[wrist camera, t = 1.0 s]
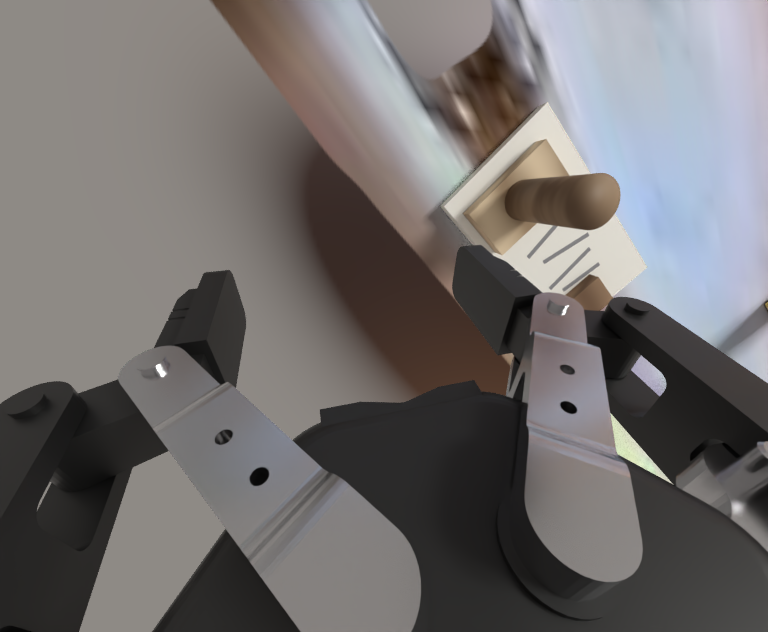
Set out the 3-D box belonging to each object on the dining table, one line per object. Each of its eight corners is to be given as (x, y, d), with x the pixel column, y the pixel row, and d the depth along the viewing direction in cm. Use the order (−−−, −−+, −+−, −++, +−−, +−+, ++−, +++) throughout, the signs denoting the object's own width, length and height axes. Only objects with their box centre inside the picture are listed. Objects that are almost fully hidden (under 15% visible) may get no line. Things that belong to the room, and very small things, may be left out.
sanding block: (534, 141, 33) (633, 115, 22) (563, 186, 35) (668, 183, 24) (462, 213, 35) (520, 222, 23) (494, 252, 37) (561, 277, 25)
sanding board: (538, 106, 33) (547, 102, 32) (637, 264, 41) (647, 267, 40) (439, 206, 35) (443, 206, 34) (551, 337, 44) (558, 342, 42)
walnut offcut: (589, 274, 39) (598, 277, 38) (604, 295, 40) (613, 299, 39) (563, 296, 40) (571, 300, 38) (579, 317, 41) (587, 321, 40)
